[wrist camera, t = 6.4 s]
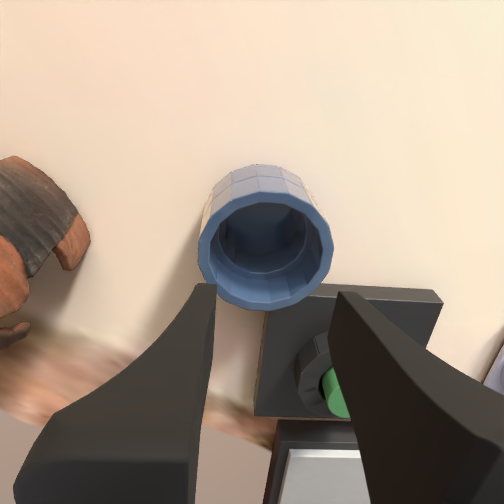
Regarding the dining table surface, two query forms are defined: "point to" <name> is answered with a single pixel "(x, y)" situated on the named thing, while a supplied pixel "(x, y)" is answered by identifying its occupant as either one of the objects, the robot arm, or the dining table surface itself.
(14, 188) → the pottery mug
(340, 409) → the button
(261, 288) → the cup
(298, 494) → the scale
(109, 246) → the dining table surface
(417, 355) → the robot arm
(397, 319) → the block
